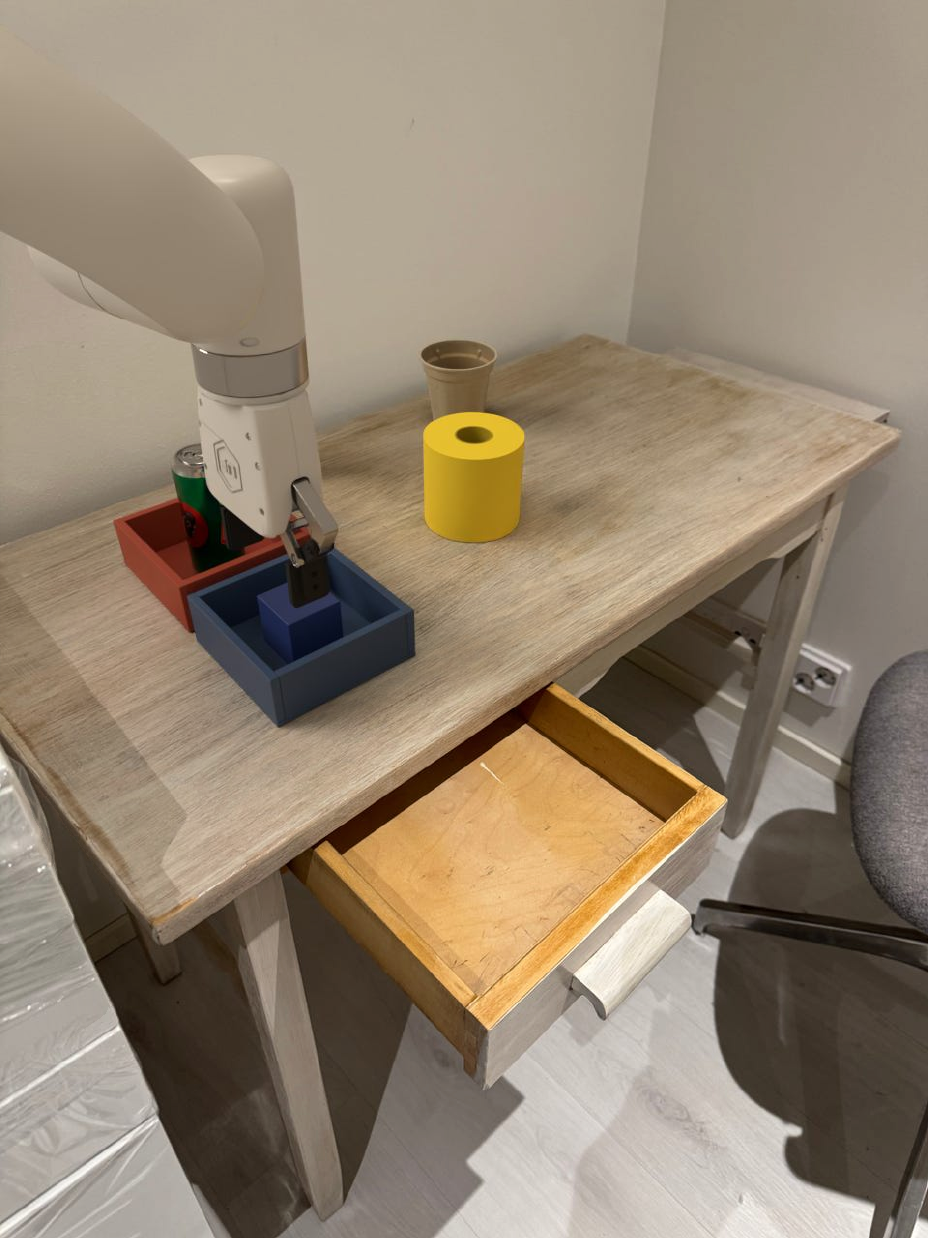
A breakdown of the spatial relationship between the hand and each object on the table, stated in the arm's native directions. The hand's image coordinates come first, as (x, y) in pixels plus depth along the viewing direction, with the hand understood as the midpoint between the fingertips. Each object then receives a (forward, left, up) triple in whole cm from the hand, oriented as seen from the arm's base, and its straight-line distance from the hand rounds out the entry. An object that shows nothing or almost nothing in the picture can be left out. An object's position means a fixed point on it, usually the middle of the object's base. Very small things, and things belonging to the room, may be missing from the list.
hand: (276, 571), depth 71 cm
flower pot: (+40, +25, -9) cm, 48 cm away
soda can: (+2, +15, -9) cm, 18 cm away
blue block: (+2, 0, -9) cm, 9 cm away
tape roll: (+27, +7, -9) cm, 29 cm away
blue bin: (+2, 0, -9) cm, 9 cm away
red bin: (+2, +15, -9) cm, 18 cm away
